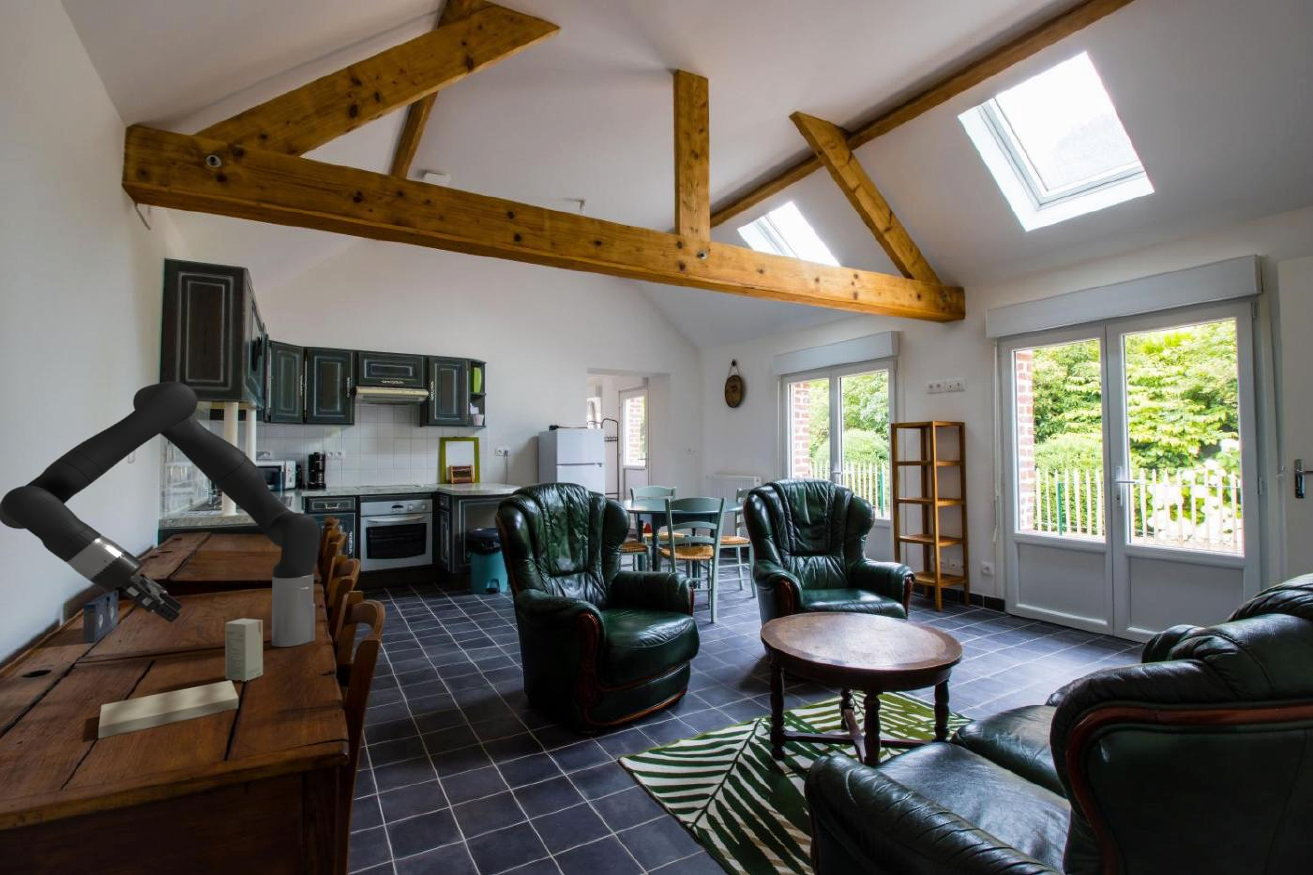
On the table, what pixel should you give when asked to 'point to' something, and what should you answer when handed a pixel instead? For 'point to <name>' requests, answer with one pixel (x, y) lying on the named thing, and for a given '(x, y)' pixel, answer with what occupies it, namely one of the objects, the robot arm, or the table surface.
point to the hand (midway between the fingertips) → (177, 614)
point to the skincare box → (243, 649)
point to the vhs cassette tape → (100, 617)
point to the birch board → (166, 708)
